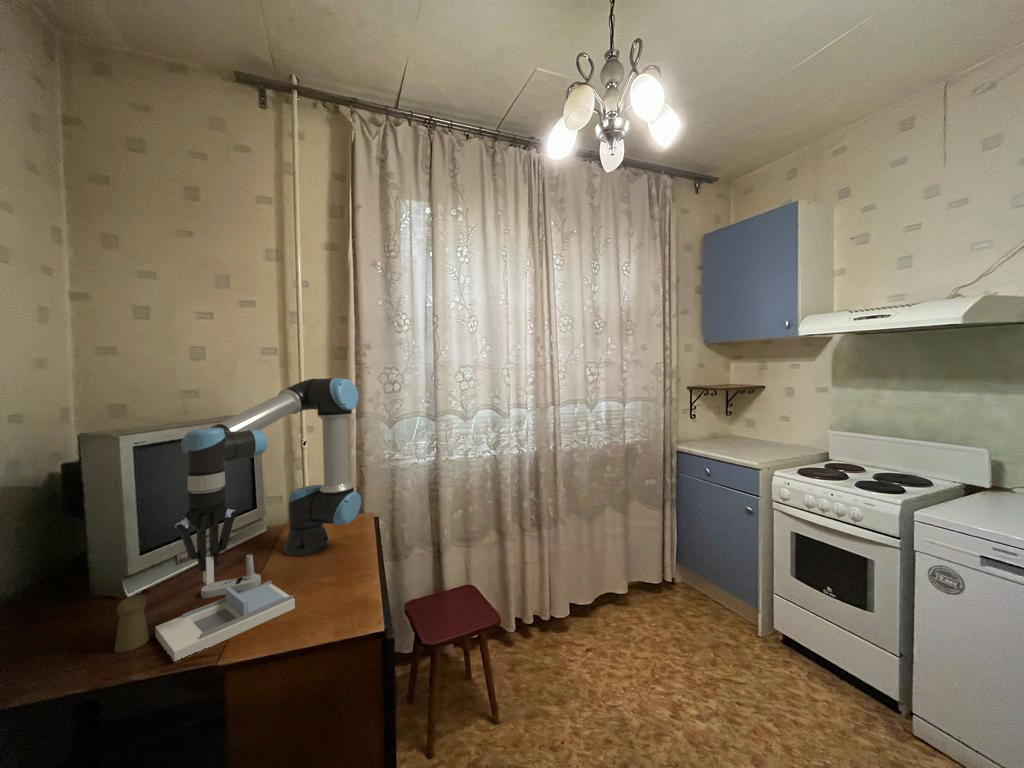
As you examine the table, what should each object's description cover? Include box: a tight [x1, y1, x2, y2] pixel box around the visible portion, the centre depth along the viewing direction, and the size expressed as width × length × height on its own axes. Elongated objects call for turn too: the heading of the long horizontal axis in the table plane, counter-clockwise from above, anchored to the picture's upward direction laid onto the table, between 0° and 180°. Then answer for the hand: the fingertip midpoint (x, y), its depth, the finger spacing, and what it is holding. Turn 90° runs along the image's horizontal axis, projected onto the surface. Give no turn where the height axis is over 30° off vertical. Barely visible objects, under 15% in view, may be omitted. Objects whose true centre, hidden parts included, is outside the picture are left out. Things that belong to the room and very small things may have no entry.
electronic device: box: [200, 553, 262, 599], centre depth 118 cm, size 5×10×15 cm
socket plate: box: [154, 580, 296, 663], centre depth 102 cm, size 26×16×3 cm, turn 144°
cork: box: [113, 594, 150, 653], centre depth 94 cm, size 6×6×11 cm
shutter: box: [225, 584, 285, 616], centre depth 107 cm, size 10×12×4 cm
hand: (208, 581), depth 99 cm, fingers closed
